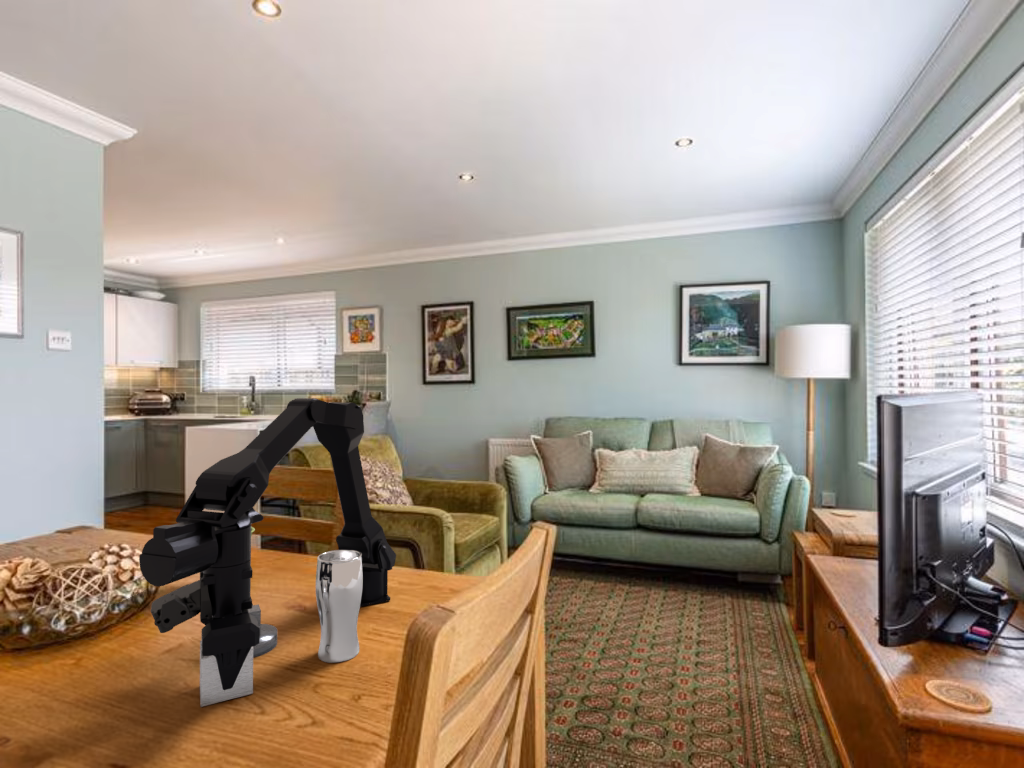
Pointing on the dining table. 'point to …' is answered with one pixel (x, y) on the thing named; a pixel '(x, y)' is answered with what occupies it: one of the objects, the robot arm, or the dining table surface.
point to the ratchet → (263, 634)
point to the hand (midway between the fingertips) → (226, 677)
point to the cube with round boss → (212, 682)
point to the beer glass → (339, 603)
